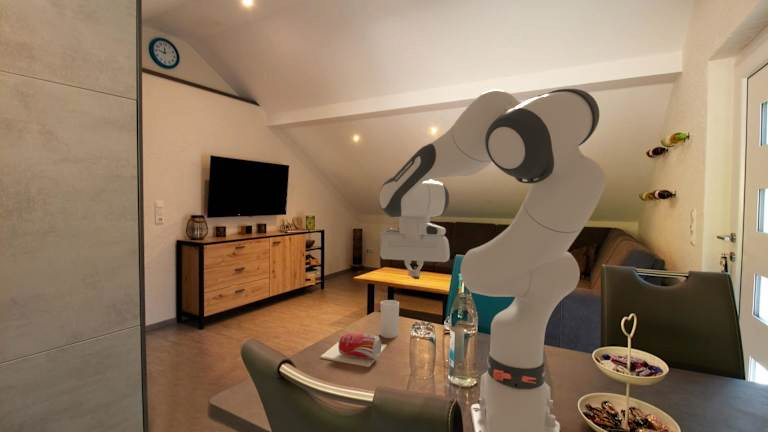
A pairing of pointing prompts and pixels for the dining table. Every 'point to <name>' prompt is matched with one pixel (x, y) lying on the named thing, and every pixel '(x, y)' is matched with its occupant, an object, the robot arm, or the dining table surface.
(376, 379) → the dining table surface
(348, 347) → the soda can
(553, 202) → the robot arm
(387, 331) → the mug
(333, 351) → the mat
